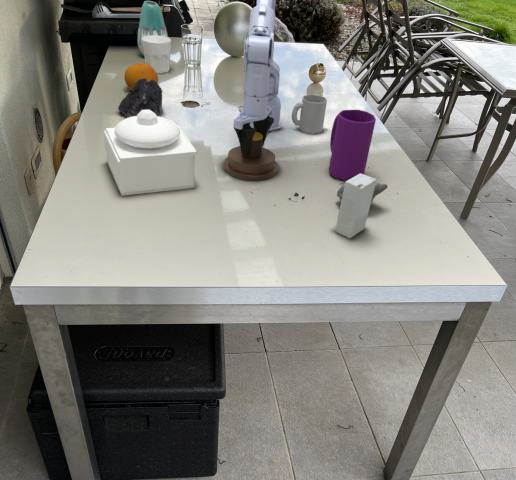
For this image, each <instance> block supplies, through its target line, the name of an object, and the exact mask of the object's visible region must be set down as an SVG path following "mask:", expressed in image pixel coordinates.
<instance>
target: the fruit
mask: <svg viewBox="0 0 516 480" xmlns="http://www.w3.org/2000/svg"><path fill="white" fill-rule="evenodd" d="M158 75H159V74H158V73H156V71H155V70H154V69H153V67H151V66H150V65H149V64H146V63H145V62H137V63H134V64H131V65H129V66H128V67H127V68H126V69H125V71H124V76H123V79H124V83H125V85H126V86H127V87H128V88H129V89H130V90H132V89H133V88H134V86H135V83H136V82H137V81H138V80H139V79H144V78H145V79H147V80H148V81H149V82H150V81H151V80H155V81H156V82H157V83H158V84H159V76H158Z"/></svg>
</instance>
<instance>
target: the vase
mask: <svg viewBox="0 0 516 480" xmlns="http://www.w3.org/2000/svg"><path fill="white" fill-rule="evenodd" d="M140 9H141V10H140V17H139V25H138V29H137V37H136V38H137V39H136V40H137V47H138V48H137V49H138V51H139V53H140V54H141V55H142V56H143V57H144V50H143V44H142V37H144V36H150V35H158V36H165V37H168V38H169V35H168V31H167V27H166V23H165V21H164V15H163V12H162V9H161V7H160V5H159V4H158V3H157V2H156V1H152V0H144V1H143V3H142V6H141V8H140Z"/></svg>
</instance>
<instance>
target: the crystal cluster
mask: <svg viewBox="0 0 516 480" xmlns="http://www.w3.org/2000/svg"><path fill="white" fill-rule="evenodd" d="M148 109H149V110H151V111H152V112H154V113H155V114H156V116H159V117H161V115H162V114H163V90H162V88H161V86H160V85H159V82H158V83H157V82H156V81H155V80H151V81H150V82H149V81H148V80H147V79H145V78H144V79H139V80H138V81H137V82H136V83H135V86H134V88H133V89H130V91H129V92H128V93H127V94H126V95H125V97H123V99H122V100H121V101H120V103H119V105H118V107H117V110H118V111H119V113H121V114H123V115H124V116H126V117H127V118H129V117H133V116H137V114H138V113H139V112H141V111H142V110H148Z"/></svg>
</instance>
